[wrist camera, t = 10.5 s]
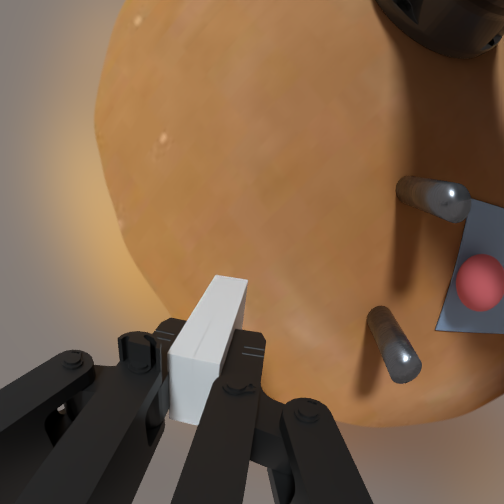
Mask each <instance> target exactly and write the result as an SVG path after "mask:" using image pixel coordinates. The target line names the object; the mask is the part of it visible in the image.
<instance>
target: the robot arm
mask: <svg viewBox="0 0 504 504" xmlns="http://www.w3.org/2000/svg"><path fill="white" fill-rule="evenodd" d="M376 1H377V3H378V4H379V6H380V7H381V9H382V10H383V12H384V13H385V14H386V15H387V16H388V17H389V19H390V20H391V21H392V22H393V23H394V24H395V25H396V26H397V27H398V28H399V29H401V30H402V31H403V32H404V33H405V34H407V35H408V36H409V37H411V38H412V39H413V40H415V41H416V42H418V43H419V44H421V45H423V46H425V47H426V48H428V49H430V50H432V51H435V52H437V53H439V54H442V55H445V56H449V57H453V58H463V59H464V58H473V57H476V56H479V55H481V54H483V53H485V52H487V51H489V50H491V49H492V48H494V47H495V46H496V45H497V44H498V43H499V41H500V40H501V38H502V36H503V35H504V0H376ZM247 285H248V280H245V279H239V278H232V277H226V276H220V275H215V277H214V278H213V280H212V282H211V283H210V285H209V286H208V288H207V290H206V291H205V293H204V294H203V296H202V298H201V299H200V301H199V302H198V304H197V306H196V307H195V309H194V311H193V312H192V314H191V315H190V317H189V319H188V320H187V321H185V320H180V319H175V318H169V319H167V320H165V321H163V322H161V324H160V325H159V326H158V327H157V329H156V331H154V333H153V334H150V333H147V332H140V331H136V332H129V333H125V334H123V335H121V336H120V337H119V338H118V348H119V357H120V362H119V363H118V364H117V366H100V365H94V362H93V359H92V357H91V356H90V355H89V354H88V353H86V352H84V351H80V350H69V351H64V352H62V353H60V354H58V355H56V356H55V357H53V358H51V359H50V360H48V361H46V362H45V363H43V364H41V365H40V366H38V367H36V368H35V369H33V370H31V371H30V372H28V373H26V374H25V375H23V376H21V377H20V378H18V379H16V380H15V381H13V382H12V383H10V384H8V385H7V386H5V387H4V388H2V389H0V504H132V501H133V499H134V497H135V495H136V492H137V490H138V488H139V485H140V483H141V481H142V479H143V476H144V474H145V472H146V470H147V467H148V465H149V463H150V461H151V459H152V456H153V454H154V452H155V449H156V447H157V445H158V443H159V441H160V438H161V436H162V434H163V432H164V428H165V419H164V418H165V416H166V413H167V411H168V409H169V418H170V419H172V420H176V421H180V422H185V423H189V424H193V425H198V427H197V430H196V433H195V436H194V439H193V441H192V445H191V447H190V450H189V453H188V456H187V458H186V461H185V464H184V467H183V470H182V473H181V476H180V479H179V481H178V484H177V487H176V490H175V492H174V496H173V498H172V501H171V504H242V502H243V496H244V491H245V484H246V478H247V472H248V466H249V460H251V461H253V462H255V463H258V464H260V465H263V466H265V467H267V471H268V475H269V480H270V484H271V489H272V493H273V497H274V502H275V504H373V502H372V500H371V497H370V495H369V493H368V491H367V489H366V487H365V484H364V482H363V480H362V478H361V476H360V474H359V471H358V469H357V467H356V465H355V463H354V461H353V459H352V456H351V454H350V452H349V450H348V448H347V446H346V444H345V442H344V439H343V437H342V435H341V433H340V431H339V429H338V427H337V425H336V422H335V420H334V418H333V416H332V414H331V412H330V410H329V409H328V408H327V406H326V405H324V404H322V403H321V402H319V401H317V400H314V399H311V398H297V399H293V400H291V401H289V402H287V403H286V404H283V403H280V402H278V401H275V400H273V399H271V398H270V397H269V396H267V395H266V394H265V393H264V392H263V390H262V388H261V375H262V368H263V360H264V353H265V346H266V340H265V338H264V336H263V335H262V333H259V332H253V331H246V330H242V324H243V316H244V309H245V301H246V293H247ZM62 404H64V407H65V408H64V409H63V410H61V411H58V410H57V408H58V407H60V406H61V405H62Z"/></svg>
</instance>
